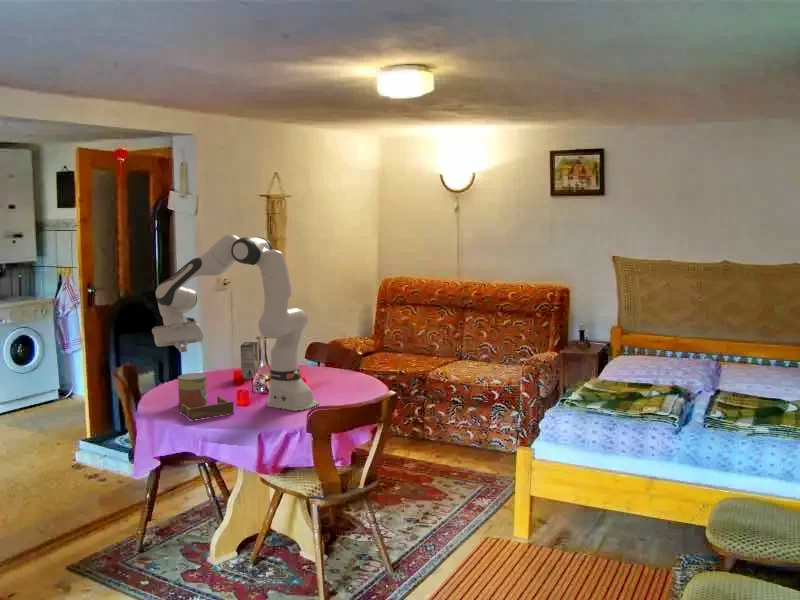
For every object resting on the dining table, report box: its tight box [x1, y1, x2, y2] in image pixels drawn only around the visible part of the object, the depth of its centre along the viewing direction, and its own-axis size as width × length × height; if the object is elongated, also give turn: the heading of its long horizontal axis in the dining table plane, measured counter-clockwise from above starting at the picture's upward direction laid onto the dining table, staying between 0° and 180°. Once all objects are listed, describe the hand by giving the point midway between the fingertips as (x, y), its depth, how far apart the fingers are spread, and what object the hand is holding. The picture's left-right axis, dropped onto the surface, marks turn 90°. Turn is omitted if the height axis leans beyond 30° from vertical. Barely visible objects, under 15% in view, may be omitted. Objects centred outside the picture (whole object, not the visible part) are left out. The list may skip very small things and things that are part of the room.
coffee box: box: [240, 341, 259, 380], centre depth 360 cm, size 9×6×16 cm
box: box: [178, 396, 235, 420], centre depth 301 cm, size 14×17×5 cm
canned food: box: [177, 372, 208, 408], centre depth 313 cm, size 11×11×12 cm
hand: (183, 351), depth 318 cm, fingers closed
